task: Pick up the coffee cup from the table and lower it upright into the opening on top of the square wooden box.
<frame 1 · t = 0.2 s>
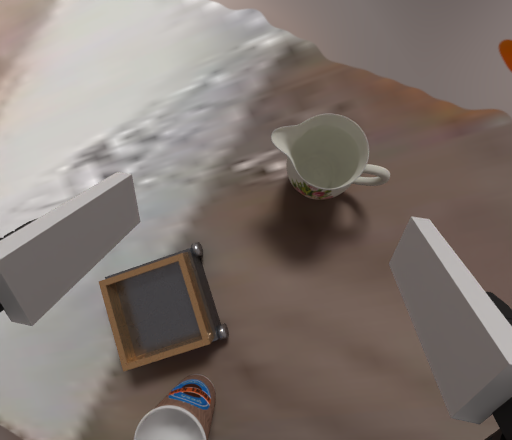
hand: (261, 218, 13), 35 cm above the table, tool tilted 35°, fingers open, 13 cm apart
pitcher: (320, 176, 48), on the table
square wooden box: (169, 301, 49), on the table
coffee cup 2: (197, 392, 47), on the table
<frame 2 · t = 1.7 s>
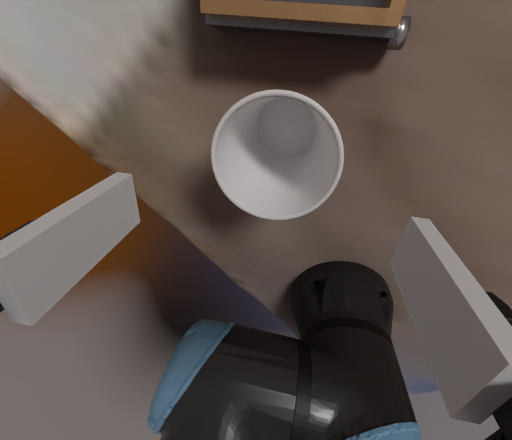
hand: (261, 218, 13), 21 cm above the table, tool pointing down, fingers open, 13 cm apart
coffee cup 2: (285, 129, 30), on the table
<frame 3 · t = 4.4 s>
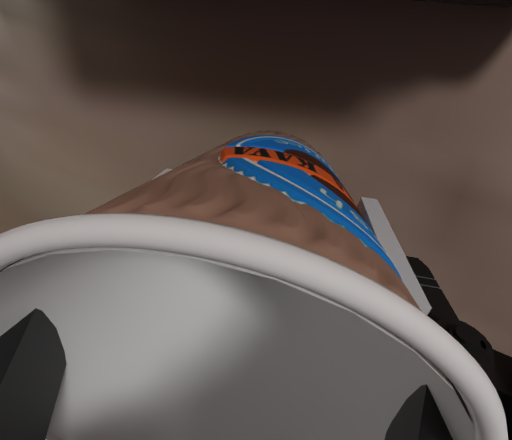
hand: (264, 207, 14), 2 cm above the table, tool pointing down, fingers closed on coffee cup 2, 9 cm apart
coffee cup 2: (270, 189, 16), on the table, touching gripper
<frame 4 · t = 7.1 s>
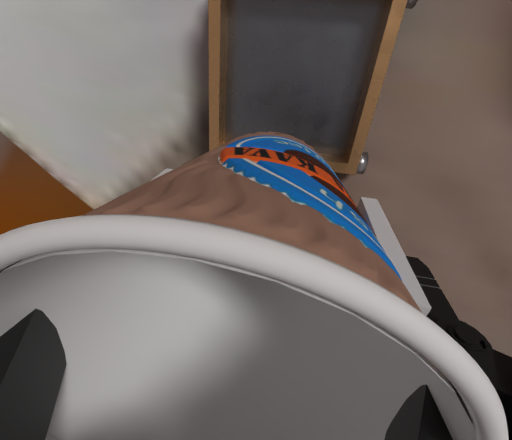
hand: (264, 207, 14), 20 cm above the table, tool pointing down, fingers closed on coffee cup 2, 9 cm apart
square wooden box: (294, 79, 28), on the table
coffee cup 2: (270, 189, 16), point 18 cm above the table, touching gripper
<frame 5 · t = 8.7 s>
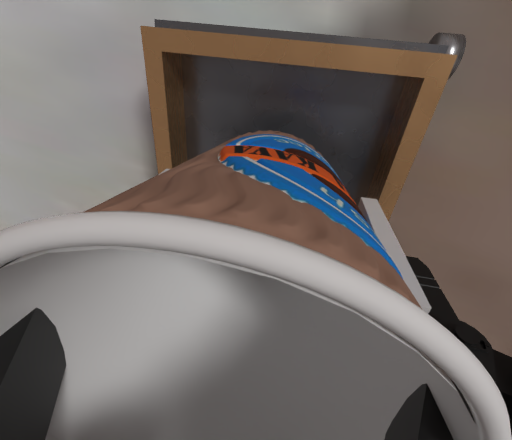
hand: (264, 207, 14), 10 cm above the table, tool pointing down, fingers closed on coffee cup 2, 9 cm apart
square wooden box: (280, 154, 22), on the table
coffee cup 2: (270, 189, 15), point 7 cm above the table, touching gripper
when the fingers open (8 cm above the table, at t = 9.9 s): coffee cup 2 drops 2 cm, resting on square wooden box.
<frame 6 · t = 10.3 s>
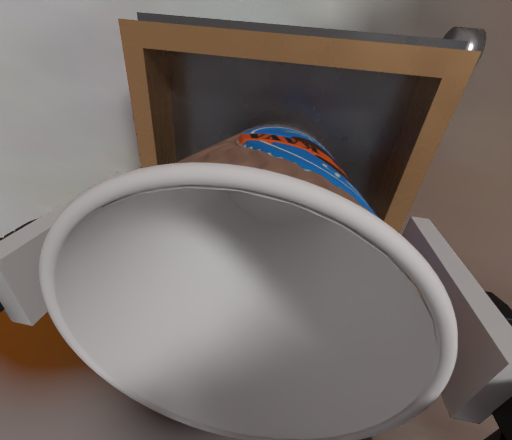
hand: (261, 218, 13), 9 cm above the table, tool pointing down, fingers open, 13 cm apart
square wooden box: (278, 159, 20), on the table
coffee cup 2: (276, 178, 17), point 4 cm above the table, touching square wooden box
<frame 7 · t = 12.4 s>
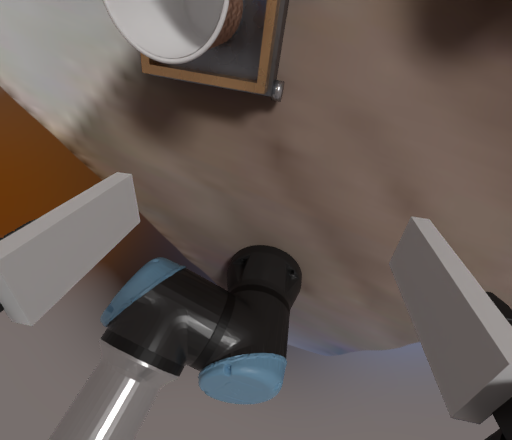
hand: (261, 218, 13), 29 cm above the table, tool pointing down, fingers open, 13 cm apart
square wooden box: (221, 9, 32), on the table
coffee cup 2: (213, 5, 29), point 4 cm above the table, touching square wooden box
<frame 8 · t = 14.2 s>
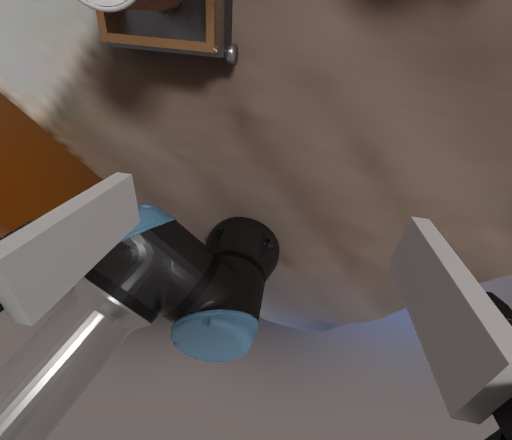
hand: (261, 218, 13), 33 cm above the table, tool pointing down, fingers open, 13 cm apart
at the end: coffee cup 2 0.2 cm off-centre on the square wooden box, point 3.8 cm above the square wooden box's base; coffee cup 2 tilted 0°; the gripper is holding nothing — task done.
